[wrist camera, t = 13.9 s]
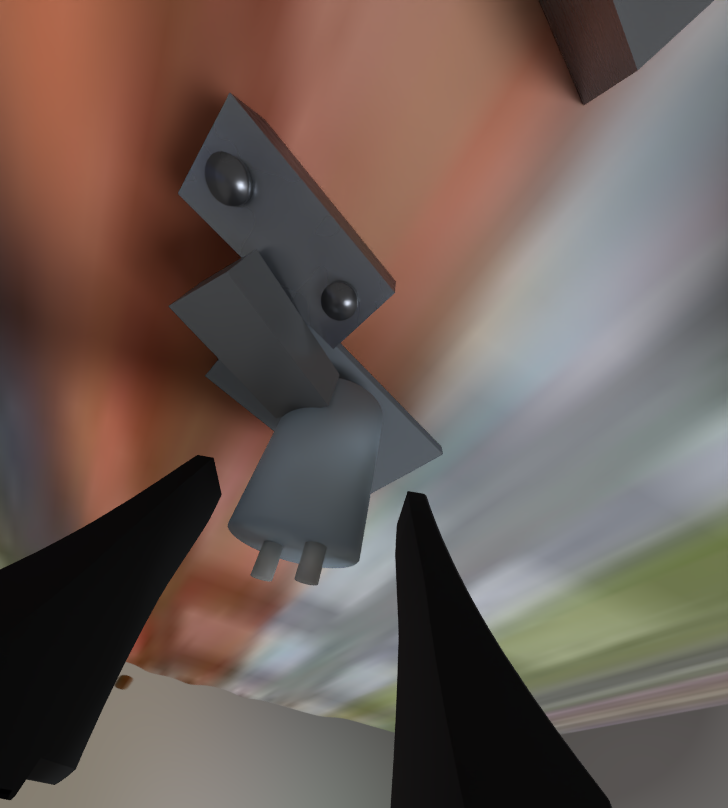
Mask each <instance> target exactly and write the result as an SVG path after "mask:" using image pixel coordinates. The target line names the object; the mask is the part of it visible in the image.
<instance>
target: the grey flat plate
mask: <svg viewBox="0 0 728 808" xmlns="http://www.w3.org/2000/svg"><path fill="white" fill-rule="evenodd" d="M304 322H305V321H304ZM305 323H306V322H305ZM306 325H307V326H308V328H309V329H310V331H311V332H312V334H313V335H314V337H315V338H316V340H317V341H318V343H319V344H320V346H321V347H322V349H323V350H324V352H325V353H326V355H327V356H328V358H329V359H330V361H331V362H332V364H333V366H334V367H335V369H336V370H337V372H338V373H339V378H341V379H345V380H348V381H351V382H353V383H355V384H357V385H359V386H361V387H363V388H364V389H366V390H367V391H368V392H370V393H371V394H372V395H373V396H374V397H375V398H376V400H377V401H378V403H379V404H380V406H381V408H382V412H383V423H382V429H381V435H380V441H379V447H378V453H377V459H376V465H375V471H374V476H373V482H372V488H371V493H373V492H375V491H377V490H378V489H380V488H382V487H384V486H386V485H388V484H389V483H391V482H393V481H395V480H397V479H399V478H400V477H402V476H404V475H406V474H408V473H410V472H411V471H413V470H415V469H417V468H419V467H421V466H422V465H424V464H426V463H428V462H430V461H431V460H433V459H435V458H437V457H439V456H441V455H442V454H443V453H442V447H441V446H440V445H439V444H438V443H437V442H436V441H435V440H434V439H433V438H432V437H431V436H430V435H429V434H428V433H427V431H426V430H425V429H424V428H423V427H422V426H421V425H420V424H419V423H418V422H417V421H416V420H415V419H414V418H413V417H412V416H411V415H410V414H409V413H408V412H407V411H406V410H405V409H404V408H403V407H402V406H401V405H400V404H399V403H398V402H397V401H396V400H395V399H394V398H393V397H392V396H391V395H390V394H389V393H388V392H387V391H386V389H385V388H384V387H383V386H382V385H381V384H380V383H379V382H378V381H377V380H376V379H375V378H374V377H373V376H372V375H371V374H370V373H369V372H368V371H367V370H366V369H365V368H364V367H363V366H362V365H361V364H360V363H359V362H358V361H357V360H356V359H355V358H354V357H353V356H352V355H351V354H350V353H349V352H348V351H347V350H346V349H345V347H344V346H343V345H342V344H341V343H340V344H338V345H337V346H336V347H335V348H334V349H332V348H331V347H330V346H329V345H328V344H327V343H326V342H325V341H324V340H323V339H322V338H321V337H320V336H319V335H318V334H317V333H316V332H315V331H314V330H313V329H312V328H311V327H310V326H309V325H308V324H307V323H306ZM205 376H206V377H207V378H208V379H209V380H211V381H212V382H213V383H214V384H216V385H217V386H218V387H219V388H221V389H222V390H223V391H225V392H226V393H227V394H228V395H230V396H231V397H232V398H233V399H235V400H236V401H237V402H238V403H240V404H241V405H242V406H243V407H245V408H246V409H247V410H248V411H250V412H251V413H252V414H253V415H255V416H256V417H257V418H258V419H260V420H261V421H262V422H263V423H265V424H266V425H267V426H268V427H270V428H271V429H272V430H273V431H275V429H276V427H277V425H278V423H279V421H280V419H281V417H279V418H275V417H274V416H273V415H272V414H271V413H270V412H269V411H268V410H267V409H266V408H265V407H264V406H263V405H262V404H261V402H260V401H259V400H258V399H257V398H256V397H255V396H254V395H253V394H252V393H251V392H250V391H249V390H248V389H247V388H246V387H245V386H244V385H243V384H242V383H241V382H240V381H239V379H238V378H237V377H236V376H235V375H234V374H233V373H232V372H231V371H230V370H229V369H228V368H227V367H226V366H225V365H224V364H223V363H222V362H221V361H220V360H218V361H217V362H216V363H215V364H214V366H213V367H212V368H211V369H210V370H209V372H208V373H207V374H206V375H205Z"/></svg>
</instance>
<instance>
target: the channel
mask: <svg viewBox="0 0 728 808" xmlns="http://www.w3.org/2000/svg"><path fill="white" fill-rule="evenodd" d="M713 1H714V0H539V2H540V4H541V6H542V9H543V11H544V13H545V16H546V18H547V20H548V23H549V25H550V27H551V30H552V32H553V34H554V37H555V39H556V41H557V44H558V46H559V48H560V51H561V53H562V55H563V57H564V60H565V62H566V64H567V67H568V69H569V71H570V74H571V76H572V78H573V81H574V83H575V85H576V88H577V90H578V92H579V95H580V97H581V99H582V102H583V104H584V105H585V104H587V103H588V102H590V101H591V100H593V99H594V98H596V97H597V96H599V95H601V94H602V93H604V92H605V91H607V90H608V89H610V88H611V87H613V86H614V85H616V84H617V83H619V82H621V81H622V80H624V79H625V78H627V77H628V76H630V75H631V74H633V73H634V72H636V71H637V70H639V69H640V68H641V67H642V66H643V65H644V64H645V63H646V62H647V61H648V60H650V59H651V58H652V57H653V56H654V55H655V54H656V53H657V52H658V51H659V50H660V49H662V48H663V47H664V46H665V45H666V44H667V43H668V42H669V41H670V40H671V39H672V38H674V37H675V36H676V35H677V34H678V33H679V32H680V31H681V30H682V29H683V28H684V27H686V26H687V25H688V24H689V23H690V22H691V21H692V20H693V19H694V18H695V17H696V16H698V15H699V14H700V13H701V12H702V11H703V10H704V9H705V8H706V7H707V6H708V5H710V4H711V3H712V2H713ZM178 194H179V195H180V196H181V197H182V198H183V199H184V200H185V201H186V202H187V203H188V204H189V205H190V206H191V207H192V208H193V209H194V210H195V211H196V212H197V213H198V214H199V215H200V216H201V217H202V218H203V219H204V220H205V221H206V222H207V223H208V224H209V225H210V226H211V227H212V228H213V229H214V230H215V231H216V232H217V233H218V234H219V235H220V236H221V237H222V238H223V239H224V240H225V241H226V242H227V243H228V244H229V245H230V246H231V247H232V248H233V249H234V250H235V251H236V252H237V253H238V254H239V255H240V256H241V257H244V256H245V255H247V254H249V253H250V252H252V251H254V250H255V249H257V251H258V252H259V254H260V255H261V257H262V258H263V260H264V261H265V263H266V264H267V266H268V267H269V269H270V270H271V272H272V273H273V275H274V276H275V278H276V279H277V281H278V282H279V284H280V285H281V287H282V288H283V290H284V291H285V293H286V294H287V296H288V297H289V299H290V300H291V302H292V303H293V305H294V307H295V308H296V310H297V311H298V313H299V314H300V316H301V317H302V319H303V320H304V321H305V322H306V323H307V324H308V325H309V326H310V327H311V328H312V329H313V330H314V331H315V332H316V333H317V334H318V335H319V336H320V337H321V338H322V339H323V340H324V341H325V342H326V343H327V344H328V345H329V346H330V347H331V348H332V349H334V348H335V347H336V346H337V345H338V344H340V343H341V342H342V341H343V340H344V339H345V338H346V337H347V336H348V335H349V334H350V333H352V332H353V331H354V330H355V329H356V328H357V327H358V326H359V325H360V324H361V323H362V322H364V321H365V320H366V319H367V318H368V317H369V316H370V315H371V314H372V313H373V312H374V311H376V310H377V309H378V308H379V307H380V306H381V305H382V304H383V303H384V302H385V301H386V300H388V299H389V298H390V297H391V296H392V295H393V294H394V293H395V286H396V281H395V280H394V279H393V277H392V276H391V275H390V274H389V272H388V271H387V270H386V269H385V267H384V266H383V265H382V264H381V262H380V261H379V260H378V259H377V258H376V256H375V255H374V254H373V253H372V251H371V250H370V249H369V248H368V246H367V245H366V244H365V243H364V241H363V240H362V239H361V238H360V237H359V235H358V234H357V233H356V232H355V230H354V229H353V228H352V227H351V225H350V224H349V223H348V222H347V220H346V219H345V218H344V217H343V216H342V214H341V213H340V212H339V211H338V209H337V208H336V207H335V206H334V204H333V203H332V202H331V201H330V199H329V198H328V197H327V196H326V195H325V193H324V192H323V191H322V190H321V188H320V187H319V186H318V185H317V183H316V182H315V181H314V180H313V178H312V177H311V176H310V175H309V174H308V172H307V171H306V170H305V169H304V167H303V166H302V165H301V164H300V162H299V161H298V160H297V159H296V158H295V156H294V155H293V154H292V153H291V151H290V150H289V149H288V148H287V146H286V145H285V144H284V143H283V141H282V140H281V139H280V138H279V137H278V135H277V134H276V133H275V132H274V130H273V129H272V128H271V127H270V125H269V124H268V123H267V122H266V120H265V119H263V118H262V117H261V116H260V115H258V114H257V113H256V112H254V111H253V110H252V109H251V108H249V107H248V106H247V105H245V104H244V103H243V102H242V101H240V100H239V99H238V98H236V97H235V96H234V95H232V94H231V93H229V95H228V97H227V99H226V101H225V103H224V105H223V107H222V109H221V111H220V113H219V115H218V117H217V119H216V120H215V122H214V124H213V126H212V128H211V130H210V132H209V134H208V136H207V138H206V140H205V142H204V144H203V146H202V148H201V150H200V152H199V153H198V155H197V157H196V159H195V161H194V163H193V165H192V167H191V169H190V171H189V173H188V175H187V177H186V179H185V181H184V183H183V185H182V186H181V188H180V190H179V192H178Z"/></svg>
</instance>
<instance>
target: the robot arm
mask: <svg viewBox="0 0 728 808" xmlns="http://www.w3.org/2000/svg"><path fill="white" fill-rule="evenodd" d="M221 495H222V494H221V490H220V485H219V480H218V476H217V471H216V467H215V462H214V458H212V457H206V456H200V455H197V456H195V457H194V458H192V459H191V460H189V461H187V462H186V463H184V464H183V465H181V466H180V467H178V468H177V469H176V470H174V471H173V472H171V473H170V474H168V475H167V476H165V477H164V478H162V479H161V480H159V481H158V482H156V483H154V484H153V485H151V486H150V487H148V488H147V489H145V490H144V491H142V492H141V493H139V494H138V495H136V496H134V497H133V498H131V499H130V500H128V501H126V502H125V503H123V504H121V505H120V506H118V507H116V508H115V509H113V510H112V511H110V512H108V513H107V514H105V515H103V516H102V517H100V518H98V519H97V520H95V521H93V522H92V523H90V524H88V525H86V526H85V527H83V528H81V529H79V530H77V531H76V532H74V533H72V534H70V535H68V536H66V537H64V538H63V539H61V540H59V541H57V542H55V543H53V544H51V545H49V546H47V547H46V548H44V549H42V550H40V551H38V552H36V553H34V554H32V555H29V556H27V557H25V558H23V559H21V560H19V561H17V562H15V563H13V564H11V565H9V566H7V567H5V568H3V569H0V798H1V799H6V800H11V799H12V798H13V797H15V795H16V794H17V792H18V791H19V789H20V788H21V786H22V785H23V783H24V782H25V780H26V779H27V780H32V781H37V782H43V783H48V784H53V785H55V784H57V783H59V782H60V781H62V780H63V779H64V778H66V777H67V776H68V775H70V774H71V773H72V772H73V771H74V770H75V769H76V767H77V765H78V763H79V760H80V758H81V756H82V753H83V751H84V749H85V747H86V744H87V742H88V740H89V738H90V735H91V733H92V731H93V729H94V727H95V725H96V722H97V720H98V718H99V716H100V714H101V711H102V709H103V707H104V705H105V703H106V701H107V699H108V696H109V695H110V692H111V690H112V688H113V686H114V684H115V682H116V680H117V678H118V676H119V674H120V672H121V670H122V668H123V665H124V664H125V662H126V660H127V658H128V656H129V654H130V652H131V650H132V648H133V646H134V644H135V642H136V640H137V638H138V636H139V634H140V633H141V631H142V629H143V627H144V625H145V623H146V621H147V619H148V618H149V616H150V614H151V612H152V610H153V608H154V607H155V605H156V603H157V601H158V599H159V597H160V596H161V594H162V592H163V591H164V589H165V587H166V586H167V584H168V583H169V581H170V580H171V578H172V576H173V575H174V573H175V572H176V570H177V569H178V567H179V566H180V564H181V563H182V561H183V560H184V558H185V557H186V555H187V554H188V552H189V551H190V549H191V548H192V546H193V544H194V543H195V541H196V540H197V538H198V537H199V535H200V534H201V532H202V531H203V529H204V527H205V526H206V524H207V523H208V521H209V519H210V517H211V515H212V513H213V511H214V509H215V507H216V505H217V503H218V501H219V499H220V497H221ZM395 559H396V582H397V603H398V628H399V645H398V676H397V700H396V723H395V742H394V763H393V779H392V794H391V808H612V806H611V804H610V801H609V800H608V798H607V796H606V795H605V794H604V792H603V791H602V790H601V788H600V787H599V786H598V785H597V783H596V782H595V781H594V779H593V778H592V777H591V775H590V774H589V773H588V772H587V770H586V769H585V768H584V766H583V765H582V764H581V762H580V761H579V760H578V759H577V757H576V756H575V754H574V753H573V752H572V750H571V749H570V748H569V746H568V745H567V744H566V742H565V741H564V740H563V738H562V737H561V735H560V734H559V733H558V731H557V730H556V728H555V727H554V726H553V724H552V723H551V721H550V720H549V719H548V717H547V716H546V714H545V713H544V712H543V710H542V709H541V707H540V706H539V705H538V703H537V702H536V700H535V699H534V698H533V696H532V695H531V693H530V692H529V690H528V688H527V687H526V685H525V684H524V682H523V681H522V679H521V678H520V676H519V675H518V673H517V672H516V670H515V669H514V667H513V666H512V664H511V663H510V661H509V660H508V658H507V657H506V655H505V654H504V652H503V651H502V649H501V648H500V646H499V644H498V643H497V641H496V639H495V638H494V636H493V635H492V633H491V631H490V630H489V628H488V626H487V625H486V623H485V621H484V619H483V618H482V616H481V614H480V612H479V611H478V609H477V607H476V605H475V604H474V602H473V600H472V598H471V596H470V594H469V593H468V591H467V589H466V587H465V585H464V583H463V581H462V579H461V577H460V575H459V573H458V571H457V569H456V567H455V565H454V563H453V561H452V559H451V556H450V554H449V552H448V550H447V547H446V545H445V543H444V541H443V539H442V536H441V534H440V531H439V529H438V526H437V524H436V521H435V519H434V516H433V514H432V511H431V508H430V505H429V502H428V499H427V497H426V495H425V494H422V493H416V492H410V491H408V492H407V495H406V498H405V501H404V505H403V508H402V511H401V514H400V517H399V520H398V523H397V532H396V550H395Z"/></svg>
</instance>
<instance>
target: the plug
mask: <svg viewBox="0 0 728 808" xmlns="http://www.w3.org/2000/svg"><path fill="white" fill-rule="evenodd" d="M169 307H170V308H171V309H172V311H173V312H174V313H175V314H176V315H177V316H178V317H179V318H180V319H181V320H182V321H183V322H184V323H185V324H186V325H187V326H188V327H189V328H190V329H191V330H192V331H193V332H194V334H195V335H196V336H197V337H198V338H199V339H200V340H201V341H202V342H203V343H204V344H205V345H206V346H207V347H208V348H209V349H210V350H211V351H212V352H213V353H214V354H215V355H216V356H217V358H218V359H219V360H220V361H221V362H222V363H223V364H224V365H225V366H226V367H227V368H228V369H229V370H230V371H231V372H232V373H233V374H234V375H235V376H236V377H237V378H238V379H239V381H240V382H241V383H242V384H243V385H244V386H245V387H246V388H247V389H248V390H249V391H250V392H251V393H252V394H253V395H254V396H255V397H256V398H257V399H258V400H259V401H260V402H261V404H262V405H263V406H264V407H265V408H266V409H267V410H268V411H269V412H270V413H271V414H272V415H273V416H274V417H275V418H279V417H281V419H280V421H279V423H278V425H277V427H276V429H275V431H274V433H273V435H272V437H271V439H270V441H269V443H268V445H267V447H266V449H265V451H264V453H263V455H262V457H261V459H260V461H259V463H258V465H257V467H256V469H255V471H254V473H253V475H252V477H251V479H250V481H249V483H248V485H247V487H246V489H245V491H244V493H243V495H242V497H241V499H240V501H239V503H238V505H237V507H236V509H235V511H234V513H233V515H232V517H231V519H230V521H229V523H228V528H229V530H230V532H231V533H232V534H233V535H234V536H235V537H236V538H237V539H239V540H240V541H242V542H243V543H245V544H247V545H248V546H250V547H252V548H254V549H256V550H259V551H260V552H259V555H258V557H257V560H256V562H255V565H254V567H253V570H252V572H251V576H252V577H254V578H257V579H260V580H264V581H272V579H273V576H274V573H275V570H276V568H277V565H278V562H279V559H283V560H286V561H290V562H294V563H298V564H299V565H298V569H297V572H296V575H295V580H296V581H298V582H301V583H304V584H308V585H318V582H319V578H320V574H321V570H322V568H345V567H350V566H353V565H355V564H357V563H358V562H359V559H360V553H361V547H362V541H363V536H364V530H365V524H366V518H367V512H368V506H369V500H370V494H371V488H372V482H373V476H374V471H375V465H376V459H377V453H378V447H379V441H380V435H381V429H382V423H383V412H382V408H381V406H380V404H379V403H378V401H377V400H376V398H375V397H374V396H373V395H372V394H371V393H370V392H368V391H367V390H366V389H364V388H363V387H361V386H359V385H357V384H355V383H353V382H351V381H348V380H345V379H341V378H339V373H338V372H337V370H336V369H335V367H334V366H333V364H332V362H331V361H330V359H329V358H328V356H327V355H326V353H325V352H324V350H323V349H322V347H321V346H320V344H319V343H318V341H317V340H316V338H315V337H314V335H313V334H312V332H311V331H310V329H309V328H308V326H307V325H306V323H305V322H304V320H303V319H302V317H301V316H300V314H299V313H298V311H297V310H296V308H295V307H294V305H293V303H292V302H291V300H290V299H289V297H288V296H287V294H286V293H285V291H284V290H283V288H282V287H281V285H280V284H279V282H278V281H277V279H276V278H275V276H274V275H273V273H272V272H271V270H270V269H269V267H268V266H267V264H266V263H265V261H264V260H263V258H262V257H261V255H260V254H259V252H258V251H257V249H255V250H254V251H252V252H250V253H249V254H247V255H245V256H244V257H242V258H240V259H239V260H237V261H235V262H234V263H232V264H230V265H229V266H227V267H225V268H224V269H222V270H220V271H219V272H217V273H215V274H214V275H212V276H210V277H209V278H207V279H205V280H204V281H202V282H201V283H199V284H198V285H197V286H195V287H194V288H192V289H191V290H190V291H188V292H187V293H186V294H184V295H183V296H182V297H180V298H179V299H177V300H176V301H175V302H173V303H172V304H171V305H169Z"/></svg>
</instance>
